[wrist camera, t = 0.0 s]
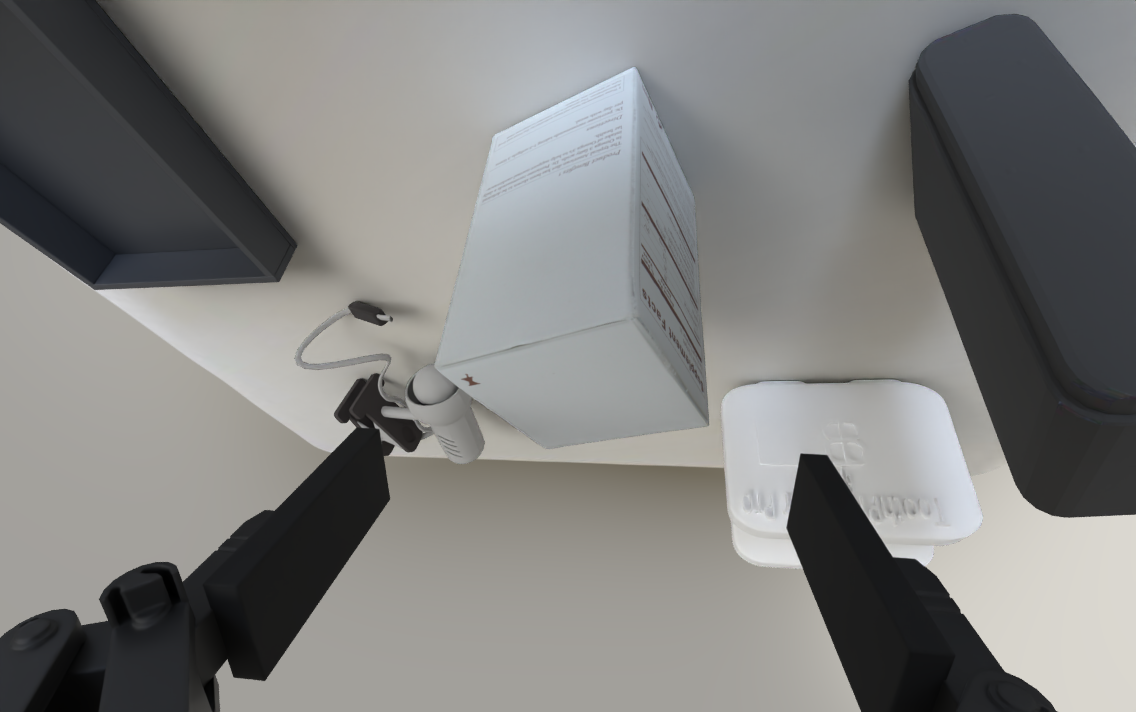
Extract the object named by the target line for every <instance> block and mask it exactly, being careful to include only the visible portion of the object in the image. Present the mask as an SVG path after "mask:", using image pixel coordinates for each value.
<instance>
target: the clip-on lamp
mask: <svg viewBox="0 0 1136 712" xmlns="http://www.w3.org/2000/svg"><path fill="white" fill-rule="evenodd" d="M350 313H352V314H353V315H354V317H355V318H358V319H361V320H364V321H367V322H370V323H373V324H376V325H379V326H383V325H384V324H386V323H387V322H388V321H391V322H392V321H393V318H392V317H391V316H386V315H385V313H384V312H383V311H382V309H380V308H378V307H373V306H370V305H366V304H363V303H359V302H356V301H355V302H353V303H351V304H350V305H349V306H348V308H346V309H344V310H341V311H339V312H338V313H336V314H335V315H333V316H332V317H330V318H329V319H327V320H326V321H325V322H324V323H322V324H321V325H320V326H318V327H317V328H316V329H315V330H314V331H313V332H312V333H311V334H310V335H309V336H308V337H307V338H306V339H305V340H304V341H303V343H302V344H301V345H300V347H299V348H298V349H297V352H296V355H295V358H294V359H295V361H296V363H297V365H298V366H300V367H302V368H304V369H313V370H321V369H331V368H338V367H344V366H350V365H355V364H360V363H365V362H371V361H378V360H386V361H387V364H386V366H385V367H384V369H383V371H382V373H381V375H380V376H379V375H378V374H372V375H371V376H370V378H369V379H368V381H367V383H366V382H365V380H364V379H357V380H356V382H355V383H354V384H353V386H352V387H351V389H350V390H349V392H348V393H347V395H346V396H345V398H344V399H343V401H342V402H341V404H340V405H339V407H338V408H337V410H336V411H335V413H334V416H335V418H336V419H337V420H338V421H339V422H340V423H347V422H348V420H349V419H350V421H351V422H352V423H353V424H354V425H355V426H356V427H358V428H375V429H380V436H381V442H382V449H383V456H388V455H390V453H391V452H392V450H393V448H394V446H397V447H399V448H402V449H404V450H405V451H406V452H413V451H415V450H416V448H417V446H418V444H419V442H420V440H422V439H425V438H427V437H429V436H431V435H433V434H435V436H436V437H437V439H438V441H439V443H440V445H441V446H442V448H443V450H444V452H445V454H446V455H447V457H448V458H449V459H450V460H451V461H452V462H454V463H458V464H466V463H470V462H472V461H474V460H475V459H477V458H478V457H479V456H480V454H481V453H482V451H483V448H484V444H485V441H484V438H483V435H482V433H481V430H480V428H479V425H478V423H477V421H476V418H475V416H474V413H473V411H472V408H471V406H470V405H471V402H472V397H471V396H470V395H468V394H467V393H466V392H464V391H463V390H462V389H460V388H459V387H457V386H456V385H455V384H454V383H452V382H451V381H450V380H449V379H447V378H446V377H445V376H444V375H442V374H441V373H440V372H439V371H438V370H437V369H435V366H434V365H435V363H434V364H429V365H427V366H425V367H423V368H422V369H420V370H419V371H418V372H416V373H415V374H414V375H413V376H412V377H411V379H410V380H409V381H408V383H407V386H406V389H405V399H406V401H405V400H403V399H402V398H400V397H397V396H388V395H387V394H386V393H385V392H384V390H383V386H384V380H383V376H384V374H385V372H386V370H387V368H388V366H389V365H390V363H391V357H390V355H388V354H376V355H369V356H363V357H358V358H353V359H348V360H342V361H337V362H330V363H323V364H308V363H305V362H303V361H302V359H301V355H302V353H303V351H304V349H305V348H306V347H307V345H308V344H309V343H310V342H311V341H312V340H313V339H314V338H315V337H316V336H317V335H319V334H320V333H321V332H322V331H323V330H324V329H326V328H327V327H328V326H330V325H331V324H332V323H334V322H335V321H337V320H338V319H340V318H342V317H343V316H345V315H347V314H350ZM395 402H397V403H400V404H402V405H403V406H404V407H405V408H402V407H399V406H398V405H397V404H396V403H395ZM413 420H414V421H413ZM418 420H419V421H421V422H422V423H424V424H427V425H430V427H428V428H427V427H423V426H422V425H421V424H420V422H419V421H418ZM422 431H423V432H426V433H423V432H422Z"/></svg>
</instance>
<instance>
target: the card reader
mask: <svg viewBox="0 0 1136 712" xmlns="http://www.w3.org/2000/svg"><path fill="white" fill-rule="evenodd" d="M909 100H910V122H911V143H912V164H913V186H914V207H915V217H916V220H917V222H918V225H919V228H920V230H921V233H922V236H923V238H924V241H925V244H926V246H927V249H928V252H929V254H930V257H931V259H932V262H933V265H934V267H935V270H936V273H937V275H938V278H939V281H940V283H941V286H942V289H943V291H944V294H945V297H946V299H947V302H948V305H949V307H950V310H951V313H952V315H953V318H954V321H955V324H956V326H957V329H958V332H959V334H960V337H961V340H962V342H963V345H964V348H965V350H966V353H967V356H968V359H969V361H970V364H971V367H972V369H973V372H974V375H975V377H976V380H977V383H978V385H979V388H980V391H981V393H982V396H983V399H984V402H985V404H986V407H987V410H988V412H989V415H990V418H991V420H992V423H993V426H994V428H995V431H996V434H997V437H998V439H999V442H1000V444H1001V447H1002V450H1003V452H1004V455H1005V458H1006V460H1007V463H1008V466H1009V468H1010V471H1011V473H1012V476H1013V479H1014V482H1015V484H1016V486H1017V488H1018V489H1019V491H1020V493H1021V494H1022V496H1023V497H1024V498H1025V499H1026V500H1027V501H1028V502H1029V503H1031V504H1032V505H1033V506H1034V507H1035V508H1037V509H1039V510H1041V511H1043V512H1045V513H1048V514H1050V515H1052V516H1059V517H1069V518H1070V517H1091V516H1113V515H1135V514H1136V147H1135V146H1134V145H1133V143H1132V142H1131V141H1130V139H1129V138H1128V137H1127V136H1126V134H1125V133H1124V132H1123V131H1122V129H1121V128H1120V127H1119V125H1118V124H1117V123H1116V122H1115V120H1114V119H1113V118H1112V116H1111V115H1110V114H1109V113H1108V111H1107V110H1106V109H1105V107H1104V106H1103V105H1102V104H1101V102H1100V101H1099V100H1098V98H1097V97H1096V96H1095V95H1094V93H1093V92H1092V91H1091V90H1090V89H1089V87H1088V86H1087V85H1086V84H1085V83H1084V81H1083V80H1082V79H1081V78H1080V76H1079V75H1078V74H1077V73H1076V72H1075V70H1074V69H1073V68H1072V67H1071V65H1070V64H1069V63H1068V62H1067V61H1066V59H1065V58H1064V57H1063V56H1062V54H1061V53H1060V52H1059V51H1058V50H1057V48H1056V47H1055V46H1054V45H1053V44H1052V42H1051V41H1050V40H1049V39H1048V37H1047V36H1046V35H1045V34H1044V33H1043V31H1042V30H1041V29H1040V28H1039V26H1038V25H1037V24H1036V23H1035V22H1034V21H1033V20H1031V19H1030V18H1029V17H1027V16H1022V15H1018V14H1009V15H997V16H994V17H991V18H989V19H986V20H984V21H981V22H979V23H977V24H974V25H972V26H969V27H967V28H964V29H962V30H959V31H957V32H955V33H952V34H950V35H947V36H945V37H942V38H940V39H937V40H935V41H934V42H933V43H931V44H930V45H929V46H928V47H927V48H925V49H924V50H923V51H922V53H921V55H920V57H919V59H918V62H917V64H916V70H914V72H913V73H912V75H911V77H910V79H909Z"/></svg>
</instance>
